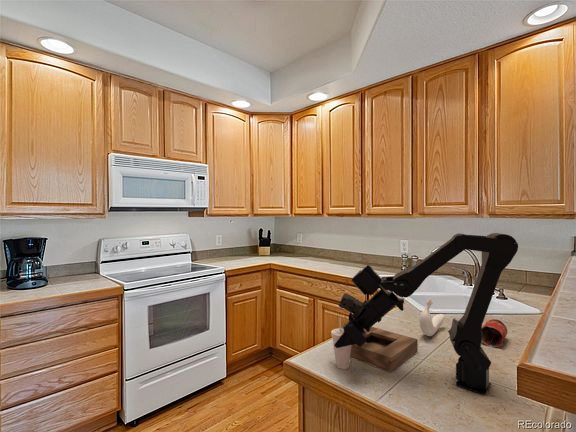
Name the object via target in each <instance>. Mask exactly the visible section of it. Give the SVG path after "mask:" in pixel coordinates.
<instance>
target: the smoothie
mask: <svg viewBox="0 0 576 432" xmlns="http://www.w3.org/2000/svg"><path fill="white" fill-rule="evenodd" d="M343 333H344V329H343V325H342V316H341V315H340V316H339V327H338V328H333V329H332V330H331V333H330V336H331V337H332V342H333V343H332V345H333V352H334V353H333V354H334V360H335V367H337V368H339V369H343V370H346V369H348V368H349V367H350V363H351V362H350V360H351V357H350V353H351V345H349V346H344V347H340V348H336V347H335V346H334V345H335V343H336V342H337V340H338V339H339V338H340V336H341V335H342V334H343Z"/></svg>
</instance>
